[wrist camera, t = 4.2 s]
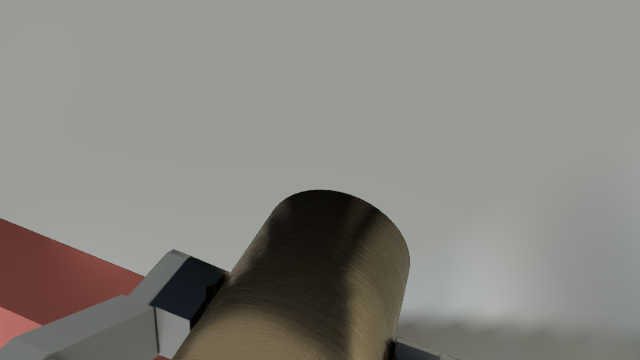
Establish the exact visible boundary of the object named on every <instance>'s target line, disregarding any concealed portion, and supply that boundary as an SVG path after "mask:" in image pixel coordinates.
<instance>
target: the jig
mask: <svg viewBox="0 0 640 360" xmlns="http://www.w3.org/2000/svg"><path fill="white" fill-rule="evenodd" d="M144 278H145V277H144V276H142V275H139V274H136V273H134V272H132V271H129V270H127V269H124V268H122V267H119V266H117V265H114V264H112V263H109V262H107V261H104V260H102V259H100V258H97V257H95V256H92V255H90V254H87V253H85V252H82V251H80V250H77V249H75V248H72V247H70V246H68V245H65V244H63V243H60V242H58V241H55V240H53V239H50V238H48V237H45V236H43V235H40V234H38V233H35V232H33V231H30V230H28V229H26V228H23V227H21V226H18V225H16V224H13V223H11V222H8V221H6V220H3V219H0V349H1V348H2V347H3V346H4V345H6V344H7V343H8V342H9V341H10V340H11V339H12V338H13V337H16V336H18V335H21V334H23V333H26V332H28V331H31V330H33V329H36V328H38V327H41V326H43V325H46V324H49V323H51V322H54V321H56V320H59V319H61V318H64V317H66V316H69V315H71V314H74V313H76V312H79V311H81V310H84V309H86V308H89V307H91V306H94V305H97V304H99V303H102V302H104V301H107V300H109V299H112V298H114V297H117V296H119V295H122V294H123V295H126V296H128V295H129V294H130V293H131V292H132V291H133V290H134V289H135V288H136V287H137V286H138V284H139V283H140V282H141V281H142V280H143V279H144ZM153 360H171V359H169V358H166V357H164V356H161V355H159V354H158V357H156V358H154V359H153Z"/></svg>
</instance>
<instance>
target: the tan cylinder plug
mask: <svg viewBox="0 0 640 360" xmlns="http://www.w3.org/2000/svg"><path fill="white" fill-rule="evenodd" d="M409 267H410V256H409V251H408V248H407V245H406V242H405V240H404V238H403V236H402V234H401V233H400V231H399V230H398V228H397V227H396V226H395V224H394V223H393V222H392V221H391V220H390V219H389V218H388V217H387V216H386V215H385V214H383V213H382V212H381V211H380V210H379V209H377V208H375V207H374V206H373V205H371V204H369V203H368V202H366V201H364V200H362V199H360V198H357V197H355V196H352V195H349V194H346V193H342V192H337V191H332V190H309V191H304V192H300V193H297V194H294V195H292V196H290V197H288V198H286V199H285V200H283V201H282V202H281V203H279V205H278V206H277V207H276V208H275V209H274V210H273V212H272V213H271V215H270V216H269V218H268V219H267V221H266V222H265V223H264V225H263V226H262V228H261V229H260V231H259V232H258V234H257V235H256V237H255V238H254V240H253V241H252V242H251V244H250V246H249V247H248V249H247V250H246V251H245V253H244V254H243V256H242V257H241V259H240V260H239V262H238V263H237V264H236V266H235V267H234V269H233V270H232V272H231V273H230V275H229V276H228V277H227V279H226V280H225V282H224V283H223V285H222V286H221V288H220V289H219V291H218V292H217V294H216V295H215V296H214V298H213V299H212V301H211V302H210V304H209V305H208V307H207V308H206V310H205V311H204V312H203V314H202V315H201V317H200V318H199V320H198V321H197V323H196V324H195V326H194V327H193V329H192V330H191V331H190V333H189V334H188V336H187V337H186V339H185V340H184V342H183V343H182V345H181V346H180V347H179V349H178V350H177V352H176V353H175V355H174V356H173V358H172V359H171V360H390V356H391V351H392V347H393V342H394V338H395V334H396V329H397V324H398V320H399V315H400V310H401V306H402V301H403V297H404V292H405V287H406V283H407V278H408V273H409Z"/></svg>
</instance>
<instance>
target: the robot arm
mask: <svg viewBox="0 0 640 360" xmlns="http://www.w3.org/2000/svg"><path fill="white" fill-rule="evenodd" d="M228 276H229V272H228V271H225V270H223V269H220V268H218V267H216V266H213V265H211V264H208V263H206V262H204V261H201V260H199V259H197V258H194V257H192V256H190V255H187V254H185V253H182V252H179V251H176V250H174V249H173V250H172V251H170V252H168V253H167V254H166V255H165V256H164V257H163V258H162V259H161V260H160V261H159V263H158V264H157V265H156V266H155V267H154V268H153V269H152V270H151V271H150V273H148V275H147V276H146V277H145V278H144V279H143V280H142V281H141V282H140V283H139V284H138V286H137V287H136V288H135V289H134V290H133V291H132V292H131V293H130V294H129V295H128V296H126V295H123V294H122V295H119V296H117V297H114V298H112V299H109V300H107V301H104V302H102V303H99V304H97V305H94V306H91V307H89V308H86V309H84V310H81V311H79V312H76V313H74V314H71V315H69V316H66V317H64V318H61V319H59V320H56V321H54V322H51V323H49V324H46V325H43V326H41V327H38V328H36V329H33V330H31V331H28V332H26V333H23V334H21V335H18V336H16V337H13V338H12V339H11V340H10V341H9V342H8V343H7V344H6V345H4V346H3V347H2V348H1V349H0V360H153V359H154V358H156V357H158V354H159V355H161V356H164V357H166V358H169V359H172V358H173V356H174V355H175V353H176V352H177V350H178V349H179V347H180V346H181V345H182V343H183V342H184V340H185V339H186V337H187V336H188V334H189V333H190V331H191V330H192V329H193V327H194V326H195V324H196V323H197V321H198V320H199V318H200V317H201V315H202V314H203V312H204V311H205V310H206V308H207V307H208V305H209V304H210V302H211V301H212V299H213V298H214V296H215V295H216V294H217V292H218V291H219V289H220V288H221V286H222V285H223V283H224V282H225V280H226V279H227V277H228ZM390 360H457V359H454V358H451V357H449V356H446V355H443V354H441V353H438V352H437V351H435V350H432V349H429V348H427V347H424V346H421V345H419V344H416V343H413V342H411V341H408V340H405V339H402V338H400V337H396V338H395V340H394V342H393V347H392V351H391V356H390Z"/></svg>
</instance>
